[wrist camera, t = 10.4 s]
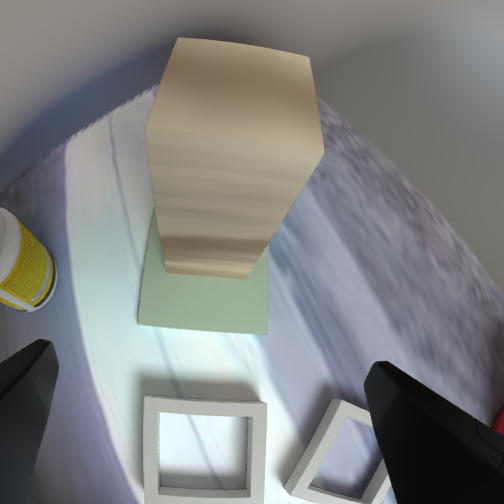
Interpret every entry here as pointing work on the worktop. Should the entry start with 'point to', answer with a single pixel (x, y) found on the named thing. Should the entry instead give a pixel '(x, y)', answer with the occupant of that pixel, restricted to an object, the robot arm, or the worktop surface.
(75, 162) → the worktop surface
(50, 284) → the supplement bottle
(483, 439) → the robot arm
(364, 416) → the frame
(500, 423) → the canned food
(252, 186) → the block
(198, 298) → the pad
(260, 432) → the frame
